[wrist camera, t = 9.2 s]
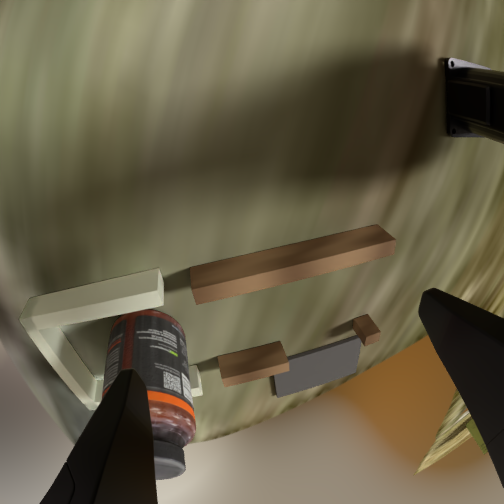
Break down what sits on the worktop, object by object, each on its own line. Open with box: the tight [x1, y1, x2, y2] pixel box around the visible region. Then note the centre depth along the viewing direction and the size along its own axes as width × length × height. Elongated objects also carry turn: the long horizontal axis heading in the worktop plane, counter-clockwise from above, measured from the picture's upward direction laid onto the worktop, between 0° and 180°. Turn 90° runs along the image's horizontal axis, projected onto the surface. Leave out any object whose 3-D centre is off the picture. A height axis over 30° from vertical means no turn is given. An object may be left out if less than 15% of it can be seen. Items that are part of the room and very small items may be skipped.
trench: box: [190, 225, 396, 387], centre depth 23 cm, size 14×10×2 cm
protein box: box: [466, 418, 488, 454], centre depth 67 cm, size 10×15×16 cm
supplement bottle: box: [102, 309, 196, 480], centre depth 18 cm, size 6×6×11 cm
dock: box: [19, 268, 203, 410], centre depth 21 cm, size 11×11×2 cm
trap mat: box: [274, 335, 361, 398], centre depth 29 cm, size 9×6×1 cm, turn 98°
